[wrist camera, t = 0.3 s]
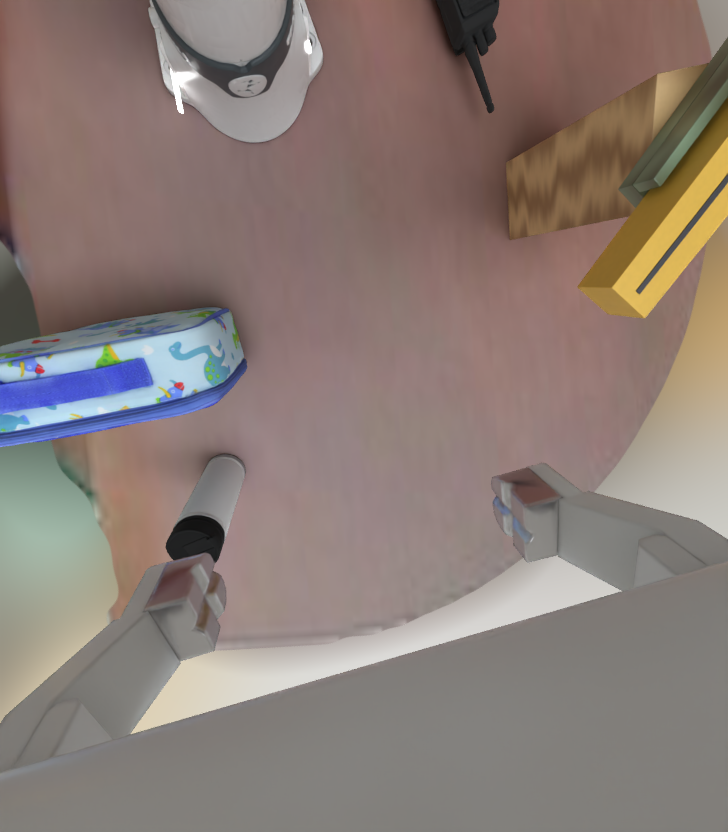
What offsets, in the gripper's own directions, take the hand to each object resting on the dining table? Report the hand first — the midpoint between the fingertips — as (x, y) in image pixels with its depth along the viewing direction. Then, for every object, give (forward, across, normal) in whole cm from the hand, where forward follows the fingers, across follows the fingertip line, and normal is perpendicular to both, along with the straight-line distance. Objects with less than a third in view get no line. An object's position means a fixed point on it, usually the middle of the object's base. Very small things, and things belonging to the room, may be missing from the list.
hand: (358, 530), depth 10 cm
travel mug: (+47, +21, +20) cm, 55 cm away
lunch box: (+48, +24, -1) cm, 53 cm away
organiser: (+48, -36, -10) cm, 61 cm away
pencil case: (+23, -33, -7) cm, 41 cm away
